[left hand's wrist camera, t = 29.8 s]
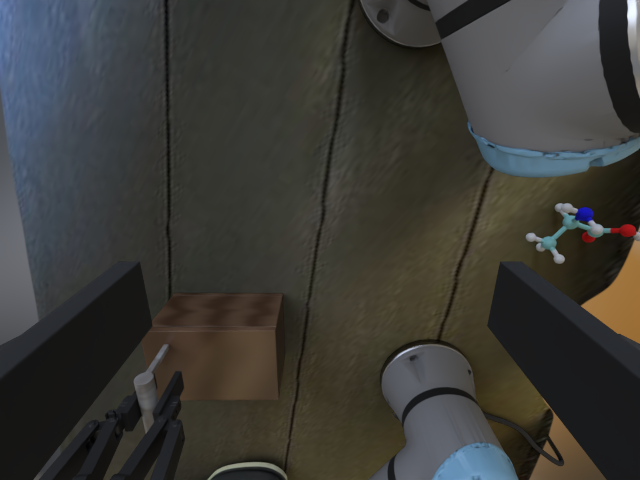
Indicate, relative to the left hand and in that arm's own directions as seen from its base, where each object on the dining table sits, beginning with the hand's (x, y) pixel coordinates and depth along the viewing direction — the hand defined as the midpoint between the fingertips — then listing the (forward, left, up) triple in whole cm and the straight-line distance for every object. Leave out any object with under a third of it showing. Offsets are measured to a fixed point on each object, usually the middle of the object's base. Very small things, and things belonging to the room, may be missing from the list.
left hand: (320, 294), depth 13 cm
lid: (+15, +26, -27) cm, 40 cm away
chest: (+15, +26, -36) cm, 47 cm away
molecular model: (-34, +9, -36) cm, 51 cm away
